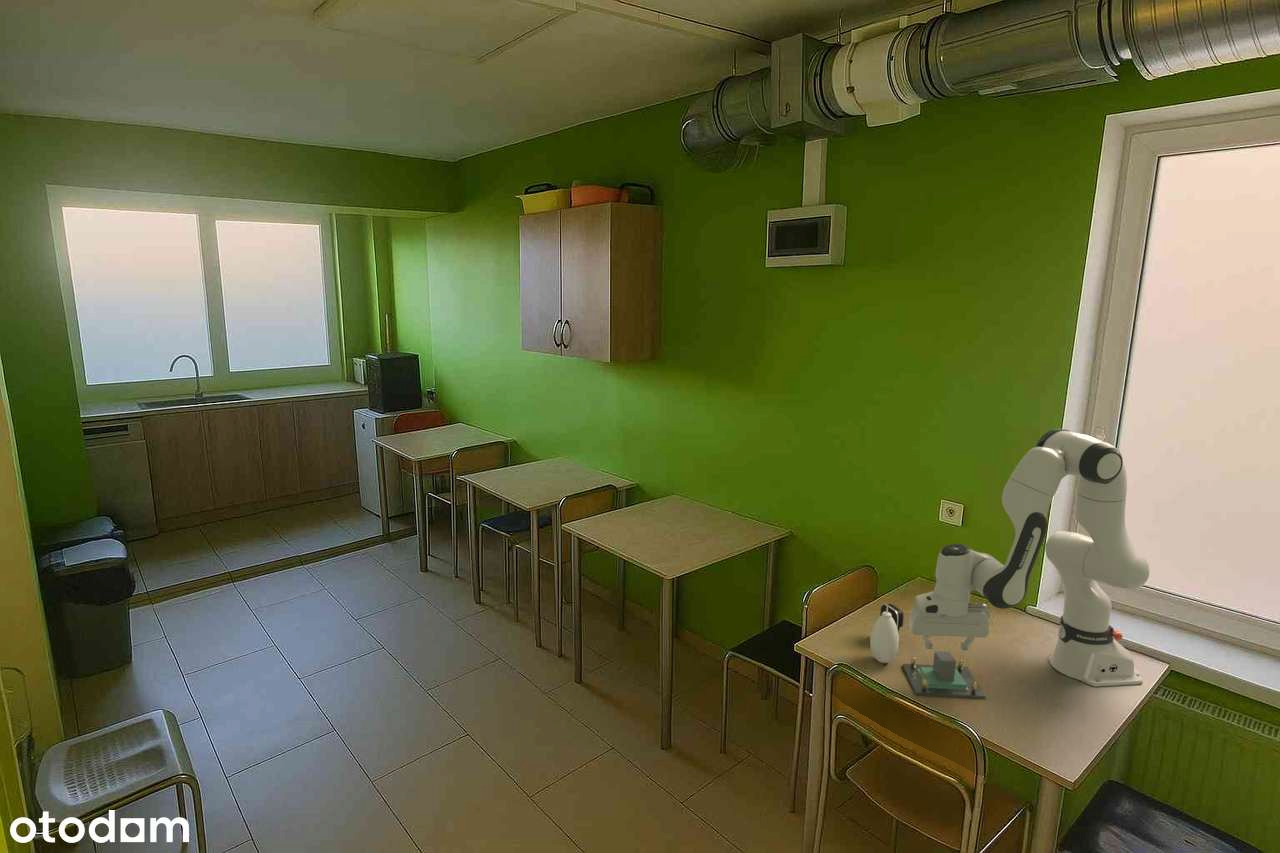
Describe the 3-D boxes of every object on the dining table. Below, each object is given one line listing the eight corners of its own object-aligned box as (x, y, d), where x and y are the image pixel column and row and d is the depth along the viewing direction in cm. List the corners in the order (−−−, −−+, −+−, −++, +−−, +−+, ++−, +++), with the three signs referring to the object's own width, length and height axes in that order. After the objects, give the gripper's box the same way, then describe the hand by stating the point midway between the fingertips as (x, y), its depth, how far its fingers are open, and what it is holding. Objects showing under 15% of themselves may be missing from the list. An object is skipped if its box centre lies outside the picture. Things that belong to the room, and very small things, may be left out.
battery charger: (903, 645, 212) (906, 610, 210) (893, 647, 211) (896, 613, 209) (887, 634, 219) (890, 600, 216) (877, 636, 217) (880, 602, 215)
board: (955, 671, 197) (958, 649, 195) (966, 688, 189) (969, 665, 188) (919, 670, 198) (921, 647, 196) (929, 686, 190) (931, 663, 188)
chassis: (966, 669, 200) (968, 657, 199) (985, 698, 186) (987, 686, 185) (902, 665, 201) (903, 654, 201) (915, 694, 188) (917, 682, 187)
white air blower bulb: (872, 651, 209) (876, 596, 205) (899, 658, 205) (904, 602, 201) (865, 663, 203) (870, 607, 198) (893, 671, 199) (899, 614, 195)
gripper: (986, 598, 190) (981, 644, 194) (909, 596, 193) (905, 641, 196) (995, 609, 184) (990, 656, 187) (915, 607, 186) (911, 653, 190)
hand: (946, 648), depth 192 cm, fingers open, 8 cm apart
